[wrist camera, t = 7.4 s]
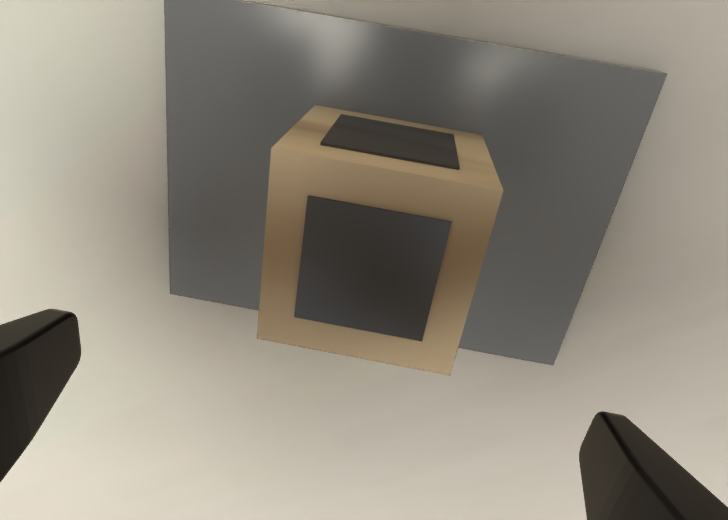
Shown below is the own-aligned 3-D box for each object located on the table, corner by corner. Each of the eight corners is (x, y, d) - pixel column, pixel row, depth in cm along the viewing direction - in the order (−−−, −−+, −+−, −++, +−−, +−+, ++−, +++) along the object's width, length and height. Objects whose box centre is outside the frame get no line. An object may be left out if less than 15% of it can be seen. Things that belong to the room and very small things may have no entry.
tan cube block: (444, 281, 18) (450, 377, 13) (299, 254, 18) (256, 339, 14) (482, 132, 16) (504, 188, 11) (315, 102, 16) (270, 145, 11)
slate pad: (661, 71, 15) (667, 74, 14) (550, 358, 19) (553, 365, 19) (170, -12, 15) (164, -12, 15) (174, 288, 20) (169, 293, 19)
